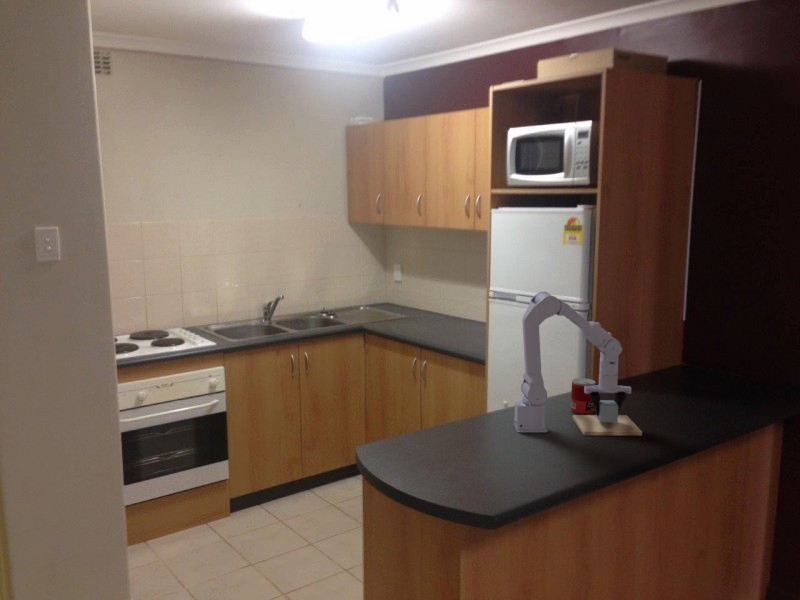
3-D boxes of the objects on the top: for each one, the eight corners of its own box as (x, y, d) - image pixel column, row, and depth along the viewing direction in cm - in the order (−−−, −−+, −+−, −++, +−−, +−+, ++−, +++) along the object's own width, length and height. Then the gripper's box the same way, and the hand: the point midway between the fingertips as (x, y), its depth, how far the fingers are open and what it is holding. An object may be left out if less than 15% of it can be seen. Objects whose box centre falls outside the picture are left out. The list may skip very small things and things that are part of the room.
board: (584, 435, 222) (584, 431, 222) (572, 418, 238) (572, 415, 238) (641, 435, 222) (642, 431, 222) (626, 418, 238) (626, 415, 237)
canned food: (590, 416, 239) (591, 385, 238) (567, 412, 244) (568, 381, 242) (597, 410, 246) (598, 380, 244) (575, 407, 250) (576, 376, 248)
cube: (600, 422, 227) (601, 405, 226) (595, 416, 232) (596, 400, 231) (617, 422, 226) (618, 405, 225) (612, 416, 232) (613, 400, 231)
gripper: (588, 377, 223) (587, 418, 225) (635, 377, 223) (632, 418, 225) (583, 371, 230) (581, 411, 232) (628, 371, 230) (626, 411, 232)
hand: (606, 414), depth 229 cm, fingers closed on cube, 5 cm apart
